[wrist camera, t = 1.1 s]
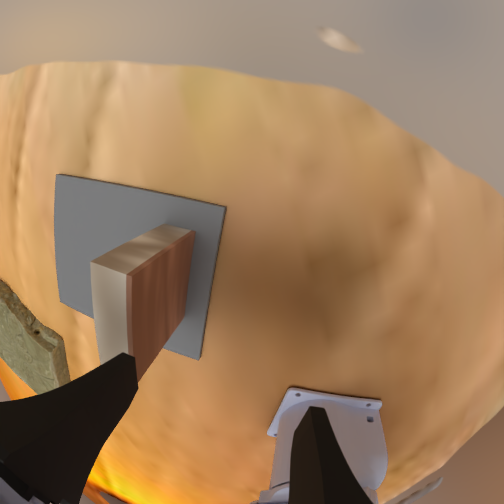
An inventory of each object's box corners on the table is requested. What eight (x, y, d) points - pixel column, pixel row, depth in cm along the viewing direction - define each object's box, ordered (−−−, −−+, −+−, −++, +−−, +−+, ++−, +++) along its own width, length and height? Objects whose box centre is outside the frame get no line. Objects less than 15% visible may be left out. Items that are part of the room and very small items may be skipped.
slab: (195, 231, 18) (131, 276, 11) (184, 317, 21) (135, 385, 13) (164, 223, 18) (90, 261, 11) (157, 308, 21) (101, 369, 13)
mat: (226, 206, 18) (224, 207, 17) (200, 357, 22) (198, 360, 22) (59, 173, 19) (56, 174, 19) (63, 299, 24) (60, 301, 23)
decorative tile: (78, 409, 32) (68, 422, 29) (5, 345, 33) (-7, 354, 29) (68, 329, 26) (49, 345, 22) (-12, 261, 26) (-28, 268, 23)
